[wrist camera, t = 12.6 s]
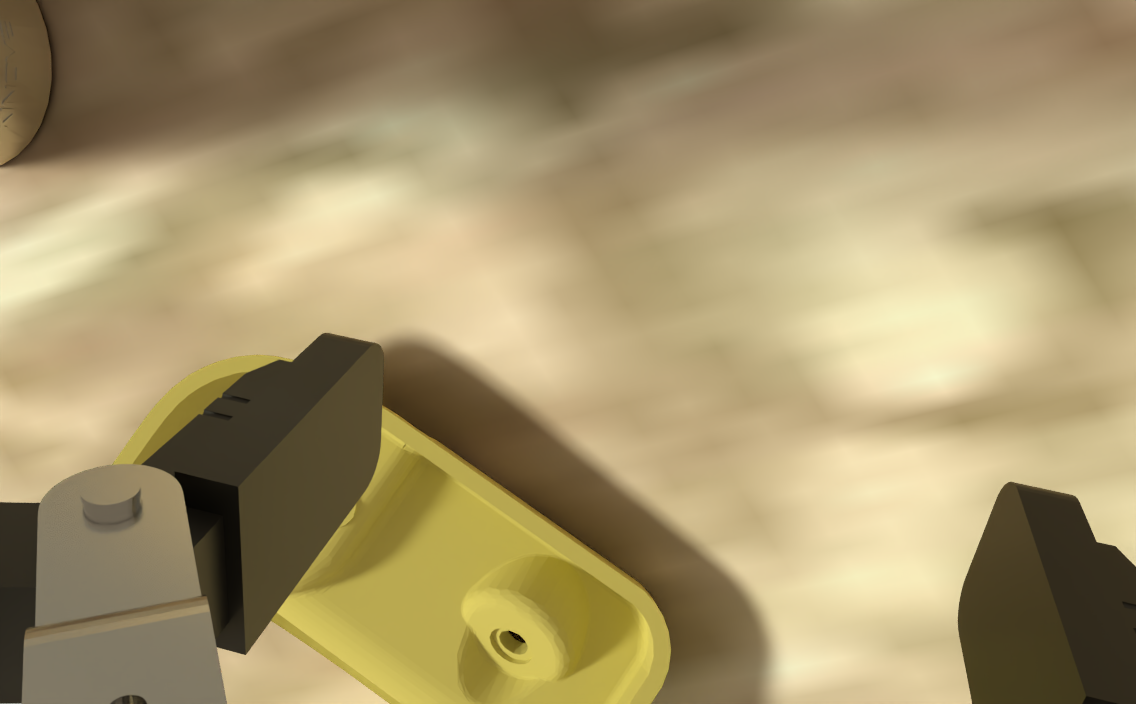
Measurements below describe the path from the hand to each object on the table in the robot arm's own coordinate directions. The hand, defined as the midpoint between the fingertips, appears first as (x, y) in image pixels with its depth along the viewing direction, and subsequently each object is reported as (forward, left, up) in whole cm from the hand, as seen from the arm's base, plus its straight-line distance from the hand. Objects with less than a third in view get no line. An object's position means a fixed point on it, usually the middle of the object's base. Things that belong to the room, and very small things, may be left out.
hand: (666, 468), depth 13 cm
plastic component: (-11, -14, -21) cm, 28 cm away
